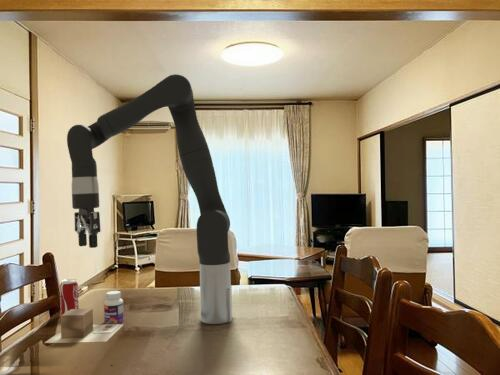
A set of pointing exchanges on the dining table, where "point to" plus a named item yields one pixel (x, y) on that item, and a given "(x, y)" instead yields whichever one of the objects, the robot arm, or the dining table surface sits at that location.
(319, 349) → the dining table surface
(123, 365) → the dining table surface
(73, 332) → the walnut cube
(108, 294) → the pill bottle
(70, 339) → the board
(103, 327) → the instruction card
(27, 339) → the dining table surface
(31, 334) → the dining table surface
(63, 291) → the soda can
